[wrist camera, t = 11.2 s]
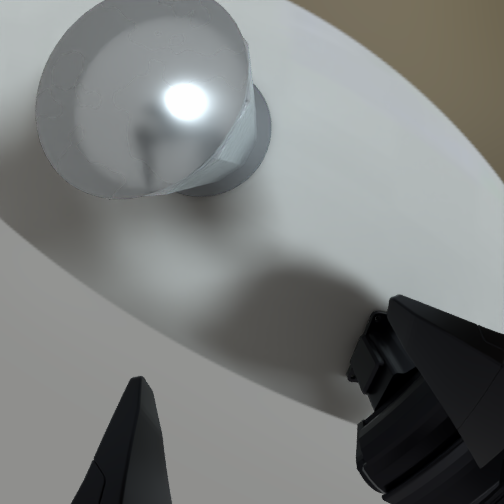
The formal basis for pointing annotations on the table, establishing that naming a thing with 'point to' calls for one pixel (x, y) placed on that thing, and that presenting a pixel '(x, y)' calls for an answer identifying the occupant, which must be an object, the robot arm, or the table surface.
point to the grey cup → (147, 98)
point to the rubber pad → (251, 162)
